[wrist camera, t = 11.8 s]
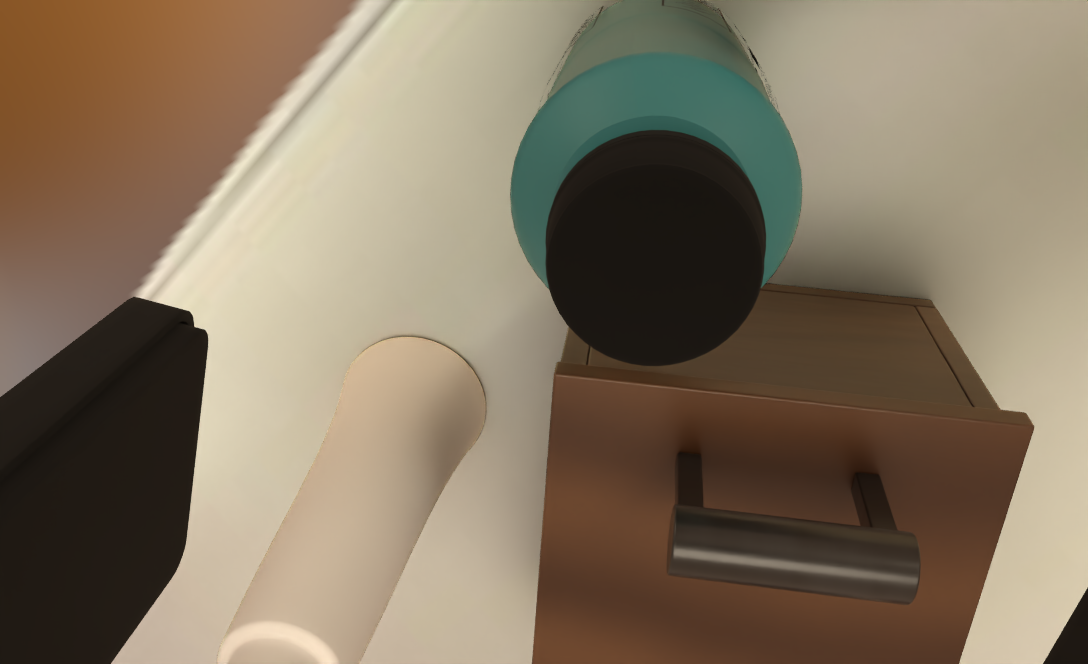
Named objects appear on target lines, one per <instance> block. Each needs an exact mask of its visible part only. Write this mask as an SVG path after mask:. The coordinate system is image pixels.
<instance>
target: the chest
mask: <svg viewBox="0 0 1088 664" xmlns="http://www.w3.org/2000/svg"><path fill="white" fill-rule="evenodd" d="M561 362H566V363H576V364H585V365H594V366H603V367H612V368H621V369H630V370H640V371H649V372H658V373H667V374H676V375H685V376H694V377H704V378H713V379H722V380H731V381H740V382H749V383H758V384H768V385H777V386H786V387H795V388H804V389H813V390H822V391H832V392H841V393H850V394H859V395H868V396H877V397H886V398H896V399H905V400H914V401H923V402H932V403H941V404H950V405H960V406H969V407H978V408H987V409H996V410H1000V408H999V407H998V405H997V403H996V402H995V400H994V399H993V397H992V395H991V394H990V392H989V391H988V389H987V388H986V386H985V384H984V383H983V381H982V380H981V378H980V376H979V375H978V373H977V372H976V370H975V369H974V367H973V365H972V364H971V362H970V361H969V359H968V357H967V356H966V354H965V353H964V351H963V350H962V348H961V346H960V345H959V343H958V342H957V340H956V338H955V337H954V335H953V334H952V332H951V331H950V329H949V327H948V326H947V324H946V323H945V321H944V319H943V318H942V316H941V315H940V313H939V312H938V310H937V309H936V307H935V305H934V304H933V302H932V301H931V300H924V299H914V298H904V297H895V296H885V295H875V294H865V293H855V292H845V291H836V290H826V289H816V288H806V287H796V286H786V285H777V284H767V283H766V284H765V285H764V286H763V287H762V288H761V289H760V293H759V296H758V298H757V300H756V303H755V305H754V307H753V309H752V310H751V312H750V314H749V315H748V317H747V319H746V320H745V321H744V322H743V324H742V325H741V326H740V327H739V329H738V330H737V331H736V332H735V333H734V334H733V335H732V336H731V337H729V338H728V339H727V340H726V341H725V342H723V343H722V344H721V345H719V346H718V347H717V348H715V349H713V350H712V351H710V352H708V353H706V354H704V355H702V356H700V357H697V358H695V359H692V360H689V361H686V362H682V363H678V364H673V365H665V366H641V365H635V364H629V363H626V362H622V361H618V360H616V359H613V358H611V357H608V356H606V355H604V354H602V353H600V352H598V351H596V350H595V349H593V348H592V347H590V346H589V345H588V344H586V343H585V342H584V341H583V340H582V339H580V338H579V337H578V336H577V335H576V334H575V333H574V332H573V331H572V330H571V328H570V327H568V332H567V336H566V340H565V345H564V349H563V353H562V358H561Z"/></svg>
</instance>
